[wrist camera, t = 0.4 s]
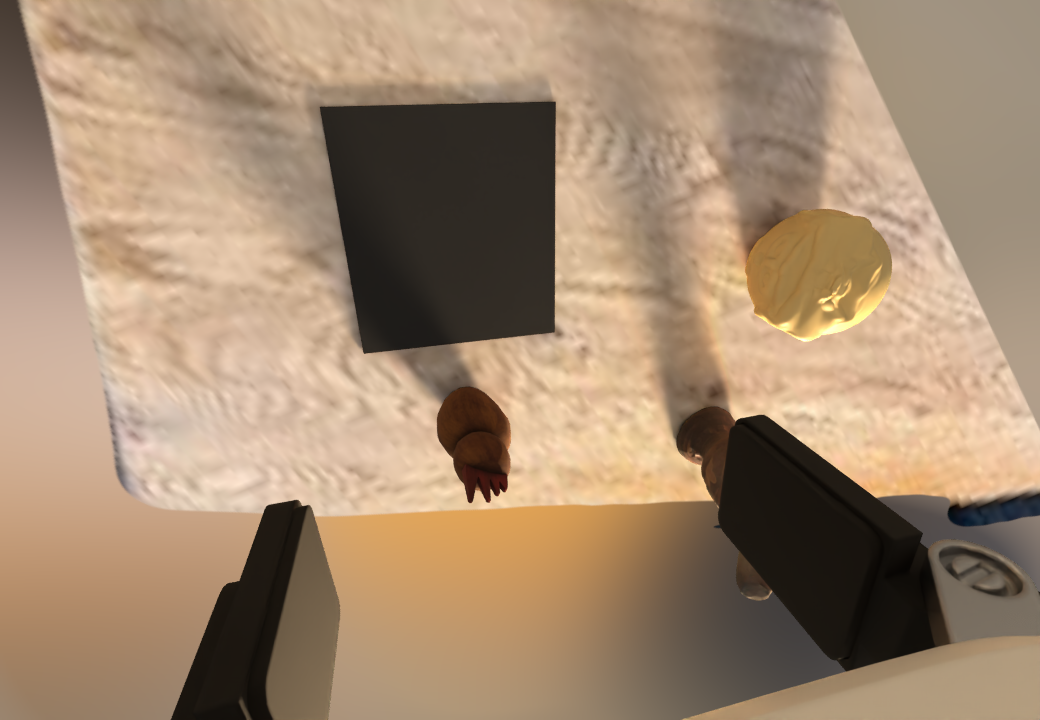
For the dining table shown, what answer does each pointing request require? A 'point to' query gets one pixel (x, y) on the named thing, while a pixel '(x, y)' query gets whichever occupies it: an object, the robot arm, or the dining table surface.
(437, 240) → the mat
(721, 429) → the mortar and pestle
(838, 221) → the sculpture
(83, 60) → the dining table surface
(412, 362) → the dining table surface
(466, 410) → the wooden figurine
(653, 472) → the dining table surface
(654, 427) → the dining table surface
